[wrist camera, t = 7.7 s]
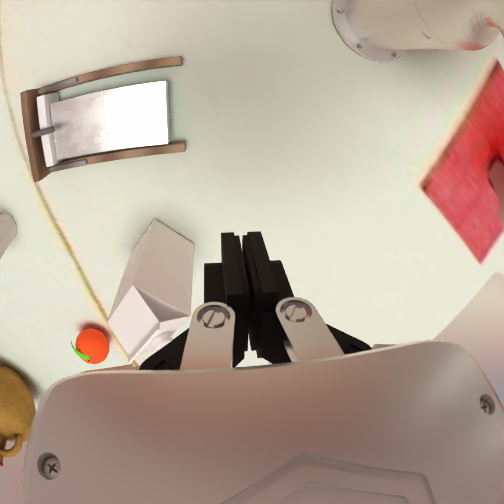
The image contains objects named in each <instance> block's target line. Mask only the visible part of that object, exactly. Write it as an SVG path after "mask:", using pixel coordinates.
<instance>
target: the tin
mask: <svg viewBox="0 0 504 504" xmlns="http://www.w3.org/2000/svg"><path fill="white" fill-rule="evenodd" d="M103 103H104V117H105V128H106V139H107V148H108V151H110V150H117V149H124V148H132V147H140V146H149V145H159V144H168V142H169V141H170V139H171V130H170V108H169V82H166V81H161V82H153V83H145V84H138V85H131V86H125V87H119V88H114V89H109V90H104V91H103Z"/></svg>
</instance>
